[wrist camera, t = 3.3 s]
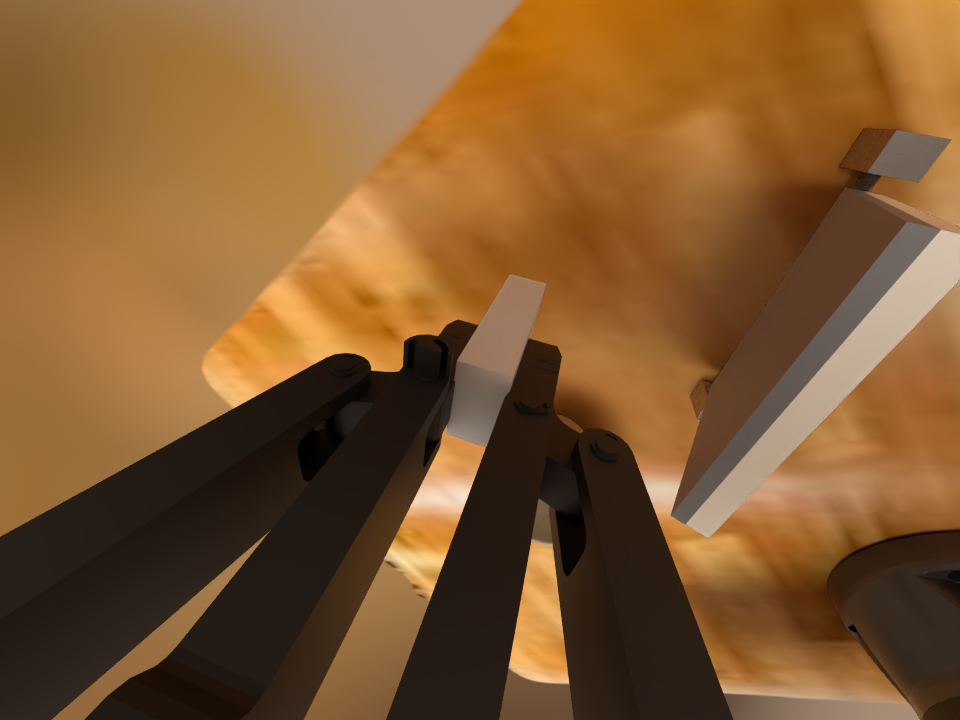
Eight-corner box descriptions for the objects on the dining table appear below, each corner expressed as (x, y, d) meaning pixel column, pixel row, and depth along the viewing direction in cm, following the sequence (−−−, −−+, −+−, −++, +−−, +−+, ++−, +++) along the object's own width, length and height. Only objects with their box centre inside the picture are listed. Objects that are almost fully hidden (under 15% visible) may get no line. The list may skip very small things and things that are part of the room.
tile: (845, 186, 17) (885, 195, 16) (710, 386, 24) (735, 397, 23) (906, 221, 9) (996, 242, 8) (670, 515, 15) (708, 538, 15)
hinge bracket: (911, 137, 17) (951, 139, 15) (719, 405, 26) (728, 427, 24) (863, 128, 17) (896, 129, 15) (690, 396, 27) (696, 418, 25)
